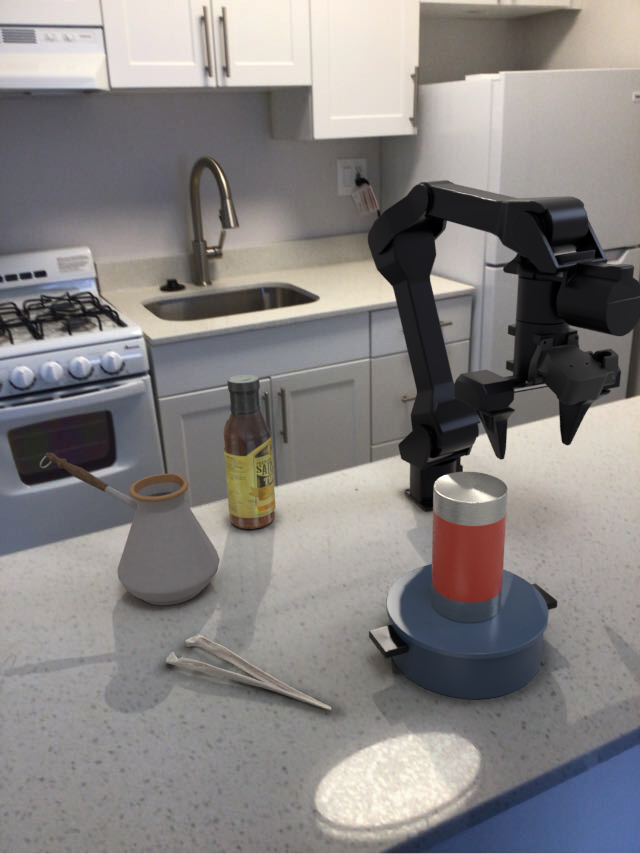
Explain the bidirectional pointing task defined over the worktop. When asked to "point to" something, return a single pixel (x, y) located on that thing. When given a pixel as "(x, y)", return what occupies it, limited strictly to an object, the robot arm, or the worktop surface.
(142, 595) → the coffee pot
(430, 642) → the enamel pot
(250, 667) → the tweezers
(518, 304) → the robot arm
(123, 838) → the worktop surface
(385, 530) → the worktop surface
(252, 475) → the sauce bottle
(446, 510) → the tin can
